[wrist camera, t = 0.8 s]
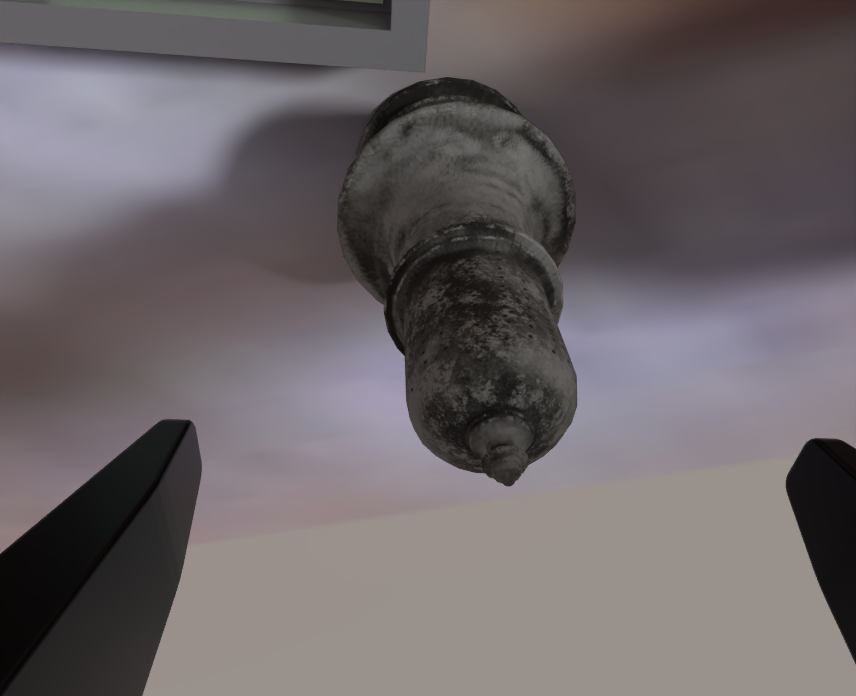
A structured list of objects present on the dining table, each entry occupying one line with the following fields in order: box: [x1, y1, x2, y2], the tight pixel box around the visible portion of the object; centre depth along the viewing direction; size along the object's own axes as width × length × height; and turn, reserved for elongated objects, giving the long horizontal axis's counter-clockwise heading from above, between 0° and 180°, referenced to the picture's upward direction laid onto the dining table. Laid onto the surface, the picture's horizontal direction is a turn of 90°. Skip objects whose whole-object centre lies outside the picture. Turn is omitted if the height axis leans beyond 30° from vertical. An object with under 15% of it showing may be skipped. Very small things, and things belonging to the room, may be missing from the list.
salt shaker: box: [337, 77, 577, 486], centre depth 14 cm, size 6×6×12 cm
